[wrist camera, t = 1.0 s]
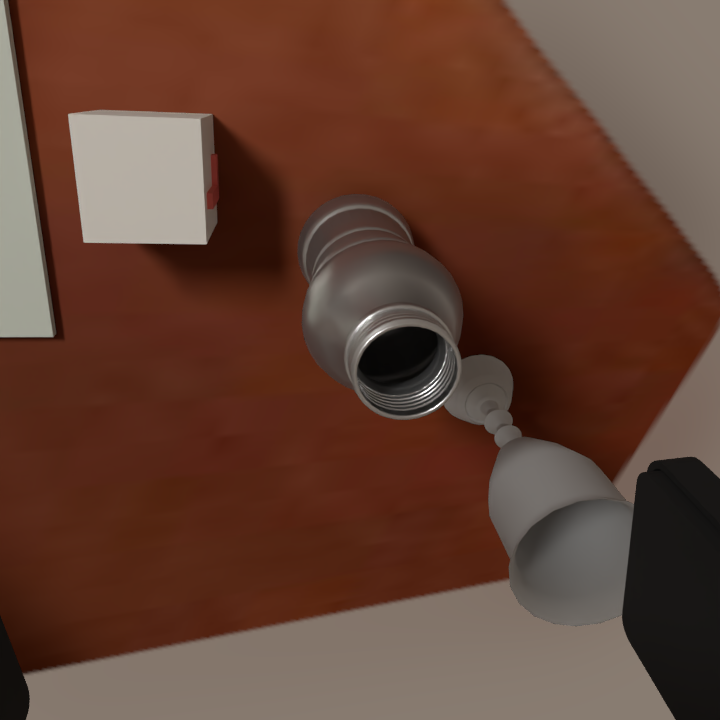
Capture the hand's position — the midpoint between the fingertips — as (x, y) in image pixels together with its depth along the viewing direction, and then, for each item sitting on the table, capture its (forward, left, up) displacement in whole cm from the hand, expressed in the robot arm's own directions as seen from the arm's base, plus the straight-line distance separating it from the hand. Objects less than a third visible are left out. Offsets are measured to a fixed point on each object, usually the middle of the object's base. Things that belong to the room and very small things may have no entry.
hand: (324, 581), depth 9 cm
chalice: (-12, -12, -32) cm, 37 cm away
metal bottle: (-2, -3, -32) cm, 33 cm away
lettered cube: (+2, +8, -32) cm, 33 cm away
